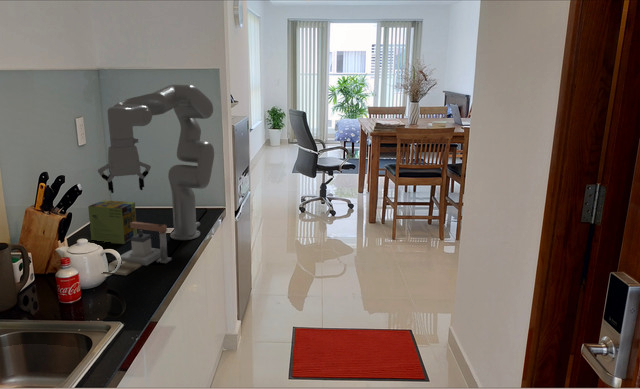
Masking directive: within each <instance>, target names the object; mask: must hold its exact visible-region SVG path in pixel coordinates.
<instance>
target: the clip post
mask: <svg viewBox="0 0 640 389" xmlns="http://www.w3.org/2000/svg"><path fill="white" fill-rule="evenodd" d="M158 236H159V238H158V239H159V249H160V254H161V257H160V258H158V259H157V260H155V262H156V263H159V262H160V264H167V263H169V262H171V261H172V260H173V257H170V256H169V257H168V244H167V231H166V232H158Z"/></svg>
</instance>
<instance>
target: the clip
mask: <svg viewBox="0 0 640 389" xmlns="http://www.w3.org/2000/svg"><path fill="white" fill-rule="evenodd" d="M130 225H131V228H134V229H137V230H142V231H143V230H145V231H152V232H158V233H159V232H166V233H167V232H168V226H167V224H157V223H150V222H143V221H136V222H132V223H130Z"/></svg>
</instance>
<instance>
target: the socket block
mask: <svg viewBox="0 0 640 389" xmlns="http://www.w3.org/2000/svg"><path fill="white" fill-rule="evenodd" d="M151 248H152V253H151V254H149V255H148V256H146V257H138V256H132V249H130V250H128V251H126V252H124V253H122V254H121V255H120V256H121V258H122V261H127V262H134V263H141V266H149V265H150V264H152V263H153V262H156V260H158V259H159V258H161V254H160V248H155V247H151Z"/></svg>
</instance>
